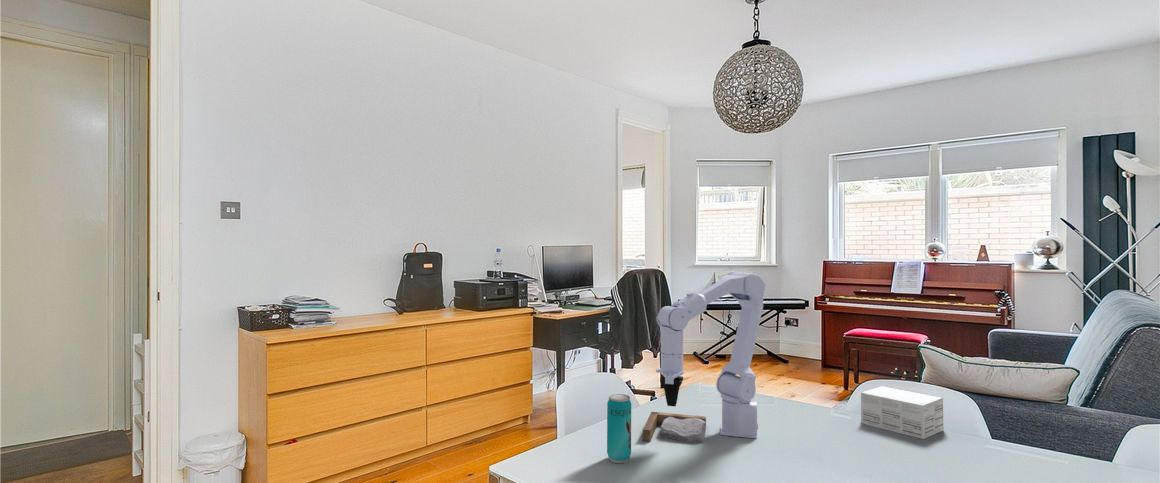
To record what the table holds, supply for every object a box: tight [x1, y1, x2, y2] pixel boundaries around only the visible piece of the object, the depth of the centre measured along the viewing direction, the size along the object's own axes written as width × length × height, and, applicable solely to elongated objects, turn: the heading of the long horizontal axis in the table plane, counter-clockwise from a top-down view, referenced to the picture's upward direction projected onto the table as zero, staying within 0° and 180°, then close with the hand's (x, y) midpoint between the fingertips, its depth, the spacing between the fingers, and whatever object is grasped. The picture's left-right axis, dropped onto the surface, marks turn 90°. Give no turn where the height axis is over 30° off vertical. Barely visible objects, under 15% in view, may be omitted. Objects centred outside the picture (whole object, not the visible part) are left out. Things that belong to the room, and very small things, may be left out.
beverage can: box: [606, 393, 632, 464], centre depth 129 cm, size 6×6×15 cm
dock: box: [642, 411, 707, 443], centre depth 147 cm, size 16×16×3 cm
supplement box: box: [860, 385, 945, 440], centre depth 155 cm, size 17×13×9 cm
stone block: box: [660, 417, 707, 443], centre depth 146 cm, size 12×5×10 cm
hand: (671, 405), depth 140 cm, fingers closed
